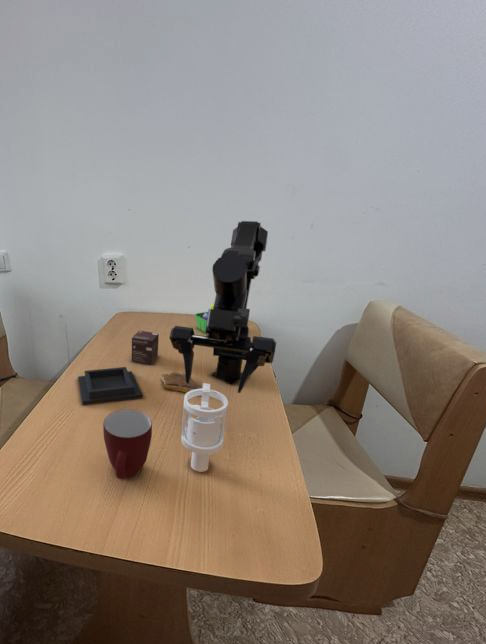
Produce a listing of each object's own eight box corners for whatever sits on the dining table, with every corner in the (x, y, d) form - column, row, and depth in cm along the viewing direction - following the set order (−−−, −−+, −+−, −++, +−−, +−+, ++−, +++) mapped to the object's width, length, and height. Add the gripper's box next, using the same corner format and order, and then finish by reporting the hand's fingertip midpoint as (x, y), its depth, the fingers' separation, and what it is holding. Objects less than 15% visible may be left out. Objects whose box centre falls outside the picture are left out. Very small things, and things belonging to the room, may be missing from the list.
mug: (150, 499, 59) (151, 449, 55) (100, 497, 60) (98, 447, 56) (150, 454, 69) (152, 409, 65) (107, 453, 69) (106, 408, 65)
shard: (205, 396, 88) (206, 389, 87) (177, 403, 85) (177, 396, 84) (182, 376, 97) (182, 369, 96) (155, 381, 94) (156, 375, 93)
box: (131, 361, 105) (130, 337, 102) (138, 353, 110) (138, 330, 107) (151, 365, 103) (152, 340, 99) (158, 356, 108) (159, 333, 105)
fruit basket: (192, 327, 129) (194, 296, 124) (213, 323, 132) (216, 292, 127) (212, 339, 119) (215, 305, 114) (234, 334, 123) (238, 301, 118)
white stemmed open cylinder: (219, 455, 69) (227, 384, 63) (220, 482, 63) (230, 407, 56) (181, 450, 70) (185, 381, 64) (178, 477, 64) (183, 403, 58)
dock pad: (131, 374, 98) (131, 364, 97) (142, 398, 87) (142, 387, 86) (78, 379, 95) (77, 370, 94) (82, 405, 84) (81, 394, 83)
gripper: (174, 284, 67) (153, 363, 63) (284, 294, 61) (271, 383, 56) (182, 312, 77) (165, 383, 72) (278, 323, 71) (266, 402, 66)
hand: (212, 387), depth 67 cm, fingers open, 9 cm apart
